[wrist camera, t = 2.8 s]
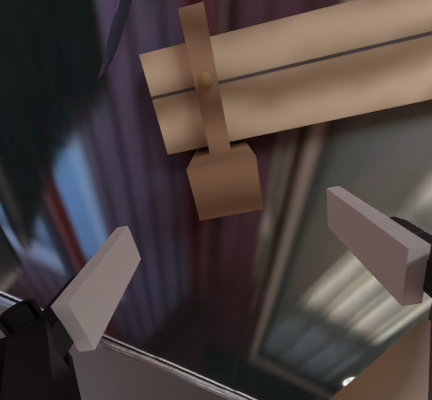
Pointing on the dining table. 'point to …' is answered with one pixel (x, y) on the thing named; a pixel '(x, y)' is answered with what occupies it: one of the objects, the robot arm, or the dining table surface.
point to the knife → (115, 32)
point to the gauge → (216, 135)
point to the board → (299, 71)
